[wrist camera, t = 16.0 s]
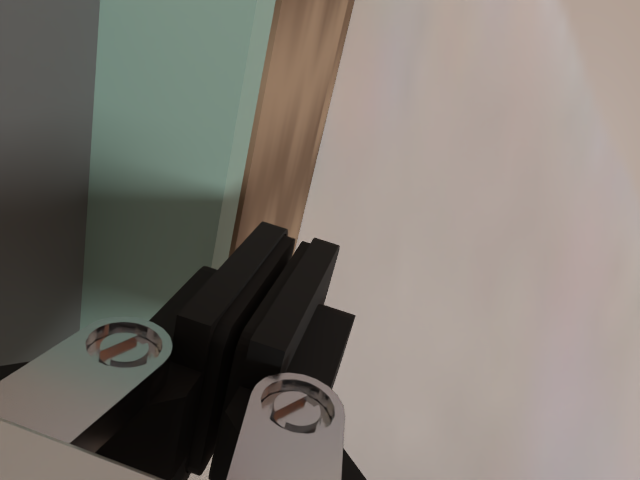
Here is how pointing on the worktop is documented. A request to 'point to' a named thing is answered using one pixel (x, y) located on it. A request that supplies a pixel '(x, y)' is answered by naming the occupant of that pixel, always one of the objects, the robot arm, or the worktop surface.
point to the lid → (118, 155)
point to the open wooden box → (290, 113)
